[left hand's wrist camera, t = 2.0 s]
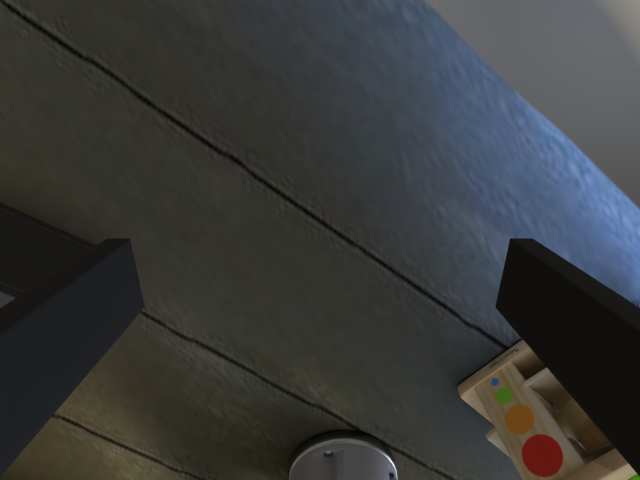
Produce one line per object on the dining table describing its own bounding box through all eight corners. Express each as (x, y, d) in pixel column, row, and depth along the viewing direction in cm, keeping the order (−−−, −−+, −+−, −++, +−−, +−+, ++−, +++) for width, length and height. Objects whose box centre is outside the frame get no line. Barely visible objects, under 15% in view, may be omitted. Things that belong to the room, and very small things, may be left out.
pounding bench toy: (614, 271, 39) (830, 398, 23) (675, 342, 43) (900, 496, 26) (453, 387, 45) (530, 553, 29) (518, 441, 49) (620, 616, 32)
